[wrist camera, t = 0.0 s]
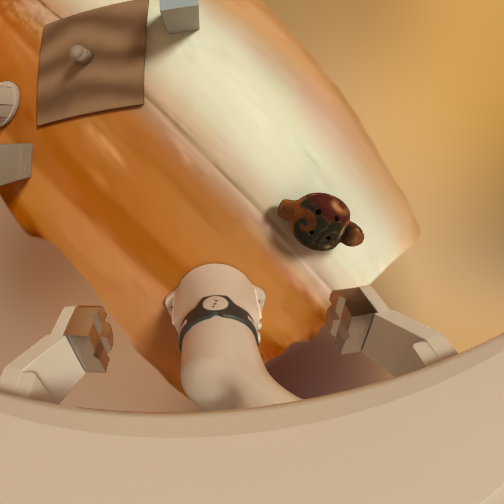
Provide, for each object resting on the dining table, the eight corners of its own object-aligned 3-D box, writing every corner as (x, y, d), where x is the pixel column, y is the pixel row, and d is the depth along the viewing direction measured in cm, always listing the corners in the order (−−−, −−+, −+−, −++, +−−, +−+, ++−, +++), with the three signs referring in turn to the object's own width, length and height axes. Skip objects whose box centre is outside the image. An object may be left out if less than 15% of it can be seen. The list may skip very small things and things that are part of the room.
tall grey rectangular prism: (199, 29, 35) (198, 5, 26) (168, 33, 35) (159, 11, 26) (197, 5, 33) (196, -22, 24) (167, 9, 33) (159, -16, 24)
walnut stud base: (144, 104, 39) (134, 99, 33) (40, 125, 36) (19, 126, 30) (149, 0, 31) (142, -17, 25) (46, 26, 29) (29, 17, 23)
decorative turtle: (342, 247, 54) (358, 266, 47) (266, 230, 52) (273, 248, 45) (359, 200, 51) (379, 213, 43) (282, 177, 48) (291, 187, 41)
